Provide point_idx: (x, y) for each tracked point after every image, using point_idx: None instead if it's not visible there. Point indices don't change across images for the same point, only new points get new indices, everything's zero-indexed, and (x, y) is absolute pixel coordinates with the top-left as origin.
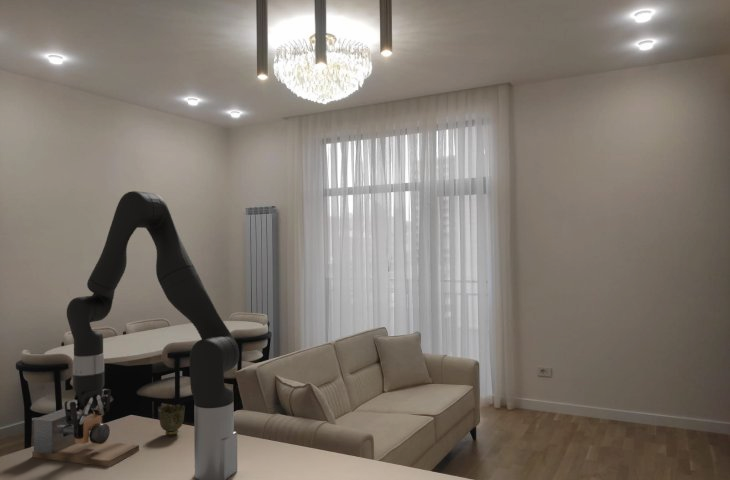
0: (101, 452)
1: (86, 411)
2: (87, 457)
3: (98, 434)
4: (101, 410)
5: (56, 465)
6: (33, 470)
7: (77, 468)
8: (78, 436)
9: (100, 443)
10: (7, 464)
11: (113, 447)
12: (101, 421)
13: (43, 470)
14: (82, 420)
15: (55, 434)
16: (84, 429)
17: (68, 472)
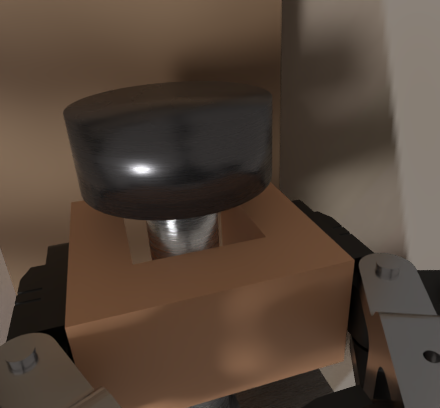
0: (170, 59)
1: (428, 345)
2: (271, 78)
3: (232, 97)
4: (48, 394)
5: (315, 208)
6: (377, 245)
7: (326, 67)
8: (324, 214)
9: (183, 82)
10: (343, 377)
11: (52, 51)
12: (69, 275)
13: (372, 208)
14: (384, 280)
15: (301, 388)
16: (311, 222)
17: (377, 68)
